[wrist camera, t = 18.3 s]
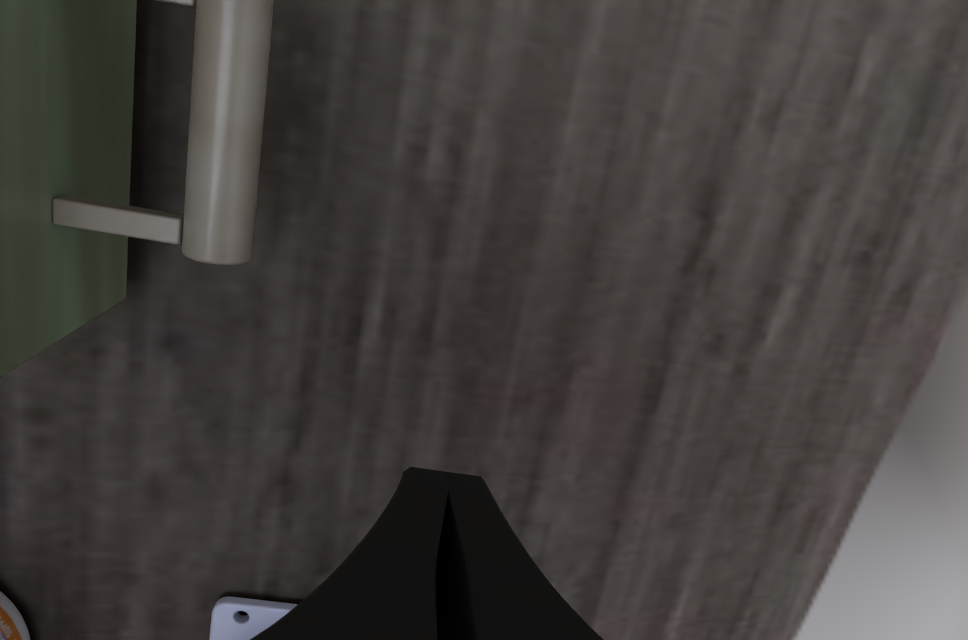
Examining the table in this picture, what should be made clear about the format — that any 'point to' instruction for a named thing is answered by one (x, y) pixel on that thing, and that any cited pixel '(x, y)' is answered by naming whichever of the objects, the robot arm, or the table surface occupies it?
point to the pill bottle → (11, 621)
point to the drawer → (114, 156)
